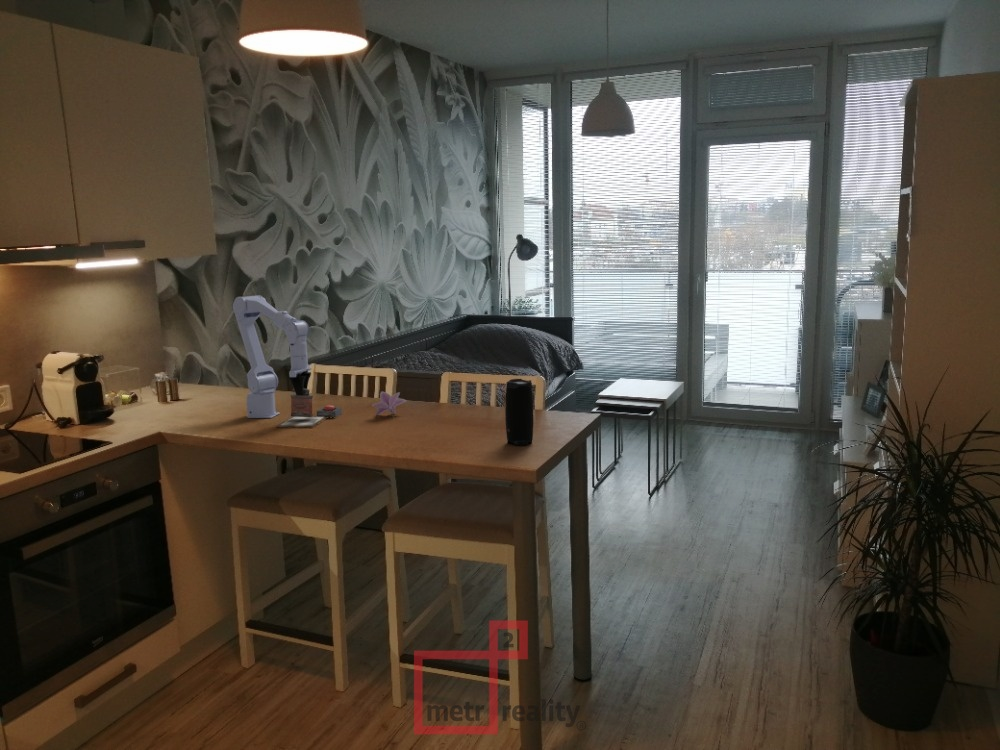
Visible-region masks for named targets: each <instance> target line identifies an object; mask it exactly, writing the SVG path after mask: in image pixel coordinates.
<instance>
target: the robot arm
mask: <svg viewBox="0 0 1000 750" xmlns="http://www.w3.org/2000/svg"><path fill="white" fill-rule="evenodd" d="M232 308H233V312H234V316H235V319H236V323H237V326H238V329H239V333H240V336H241V339H242V342H243V345H244V349H245V352H246V355H247V359H248V361H249V366H250V370H249V371H248V372H246V377H247V387H248V390H250V392H248V394H247V395H246V413H247V416H246V418H247V419H272V418H274V417H275V416H277V415H280V414H281V412H279V411H276V400H275V391H277V390H276V389H277V387H278V386H279V378H278V376H277V374H276V373H275V370H274V367H272V366H270V365H268V364H267V362H266V359H265V356H264V352H263V350H262V346H261V342H260V340H259V335H258V333H257V329H256V327H255V321H256V320H257V319H258V318H259V317H260V316H261V315H264V316H266V317H267V318H270V319H271V320H272V323H273V325H274V326H276V327H278V328H279V329H281V330H282V331H284V333H285V337H287V342H288V343H289V350H290V351H289V354H290V356H289V357H290V371H289V372H288V373H289V376H288V378H289V380H290V382H291V383H292V386H293V388H294V389H295V392H294V393H295V395H303V388H305V389H308V385H309V382H310V381H309V380H310V378H311V376H312V372H311V371H312V367H311V365H310V364H309V363H308V362H309V361H308V346H307V345H308V344H307V336H308V335H309V334H310V327H309V324H308V323H307V322H306V321H305V320H304V319H303V320H302V319H301V320H298V319H297V318H296V317H293V316H292V315H290V314H289V313H288V311H286V310H280V311H278V310H277V309H276V308H275V307H273V306H272V304H270V303H268V302H267V301H266V298H265V297H263V296H262V295H260V294H257V295H251V296H250V295H249V296H247V295H246V296H237V297H235V299H234V301H233V304H232Z"/></svg>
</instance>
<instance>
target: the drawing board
mask: <svg viewBox="0 0 1000 750" xmlns="http://www.w3.org/2000/svg"><path fill="white" fill-rule="evenodd" d="M327 417H328V416H317V415H316V416H315V415H313V417H293V416H290V417H288V418H287V419H285V420H283V422H280V423H279V424H277V425H276V427H314V426H315V425H317V424H318V423H319V422H321V421H322V420H324V419H326V418H327ZM327 419H328V418H327ZM327 419H326V420H327ZM324 421H325V420H324ZM321 423H322V422H321ZM318 425H319V424H318ZM318 425H317V426H318ZM315 427H316V426H315ZM315 427H314V428H315Z"/></svg>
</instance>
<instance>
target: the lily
mask: <svg viewBox="0 0 1000 750" xmlns="http://www.w3.org/2000/svg"><path fill="white" fill-rule="evenodd" d="M400 394H401V392H400V391H399V392H396V393H394V394H392V395H390V394H389V393H387V392H385V391H383V390H382V391H380V393H379V401H378V402H376V403H373V404H372V405H371V407H375V408H377V410H376V413H375V416H379V415H381V414H382V413H384V412H386V411H388V412H389V413H390V414H391V417H392V419H394V414H393V413H395V414H396V406H399V405H400V404H404V403H406V402H407V400H406V399H404V398H400V397H399V396H400Z"/></svg>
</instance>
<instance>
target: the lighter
mask: <svg viewBox="0 0 1000 750" xmlns="http://www.w3.org/2000/svg"><path fill="white" fill-rule="evenodd" d="M310 390H311V389H310V388H307V389H305V388H303V395H296V394H291V395H290V398H291V399H290V400H291V403H290V404H291V408H290V410H291V411H290V417H292V416H293V417H313V416H314V413H313V399H314V396H313V395H311V394H310ZM292 392H294V393H296V392H295V389H294V387H293V388H292Z"/></svg>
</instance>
